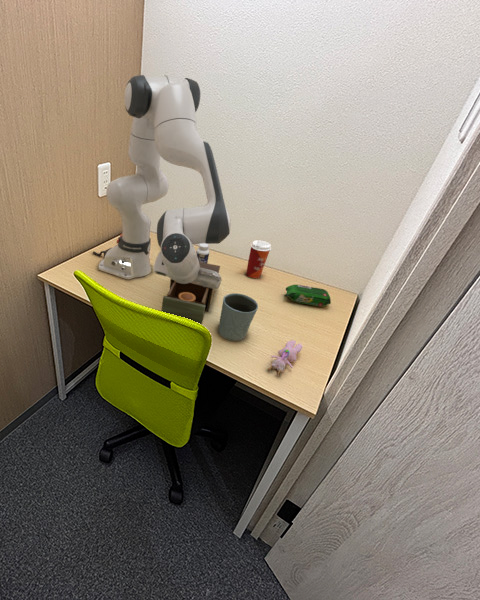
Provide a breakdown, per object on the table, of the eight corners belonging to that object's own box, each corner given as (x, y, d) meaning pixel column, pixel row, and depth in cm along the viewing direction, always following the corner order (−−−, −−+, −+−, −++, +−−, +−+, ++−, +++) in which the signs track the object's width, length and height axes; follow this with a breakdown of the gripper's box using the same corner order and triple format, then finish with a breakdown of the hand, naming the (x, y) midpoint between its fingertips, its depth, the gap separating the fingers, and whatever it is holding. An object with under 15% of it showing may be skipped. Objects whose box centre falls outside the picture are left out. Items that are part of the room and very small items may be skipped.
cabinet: (208, 312, 118) (213, 286, 112) (167, 302, 123) (170, 277, 116) (215, 289, 130) (220, 265, 124) (178, 282, 134) (181, 258, 128)
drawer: (198, 336, 105) (202, 314, 100) (157, 326, 110) (159, 304, 105) (208, 305, 120) (212, 284, 115) (171, 297, 124) (174, 276, 119)
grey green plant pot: (214, 321, 113) (220, 292, 106) (245, 323, 112) (253, 294, 106) (219, 341, 105) (226, 310, 98) (252, 344, 104) (262, 313, 97)
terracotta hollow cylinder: (174, 314, 113) (176, 297, 109) (178, 305, 118) (181, 288, 114) (191, 318, 112) (194, 301, 108) (194, 309, 116) (197, 292, 112)
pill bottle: (196, 268, 143) (199, 248, 137) (192, 262, 147) (195, 242, 142) (208, 268, 144) (212, 247, 138) (204, 262, 148) (207, 241, 142)
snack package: (281, 292, 128) (285, 280, 125) (327, 299, 124) (332, 288, 121) (282, 302, 123) (286, 290, 120) (330, 310, 119) (336, 298, 116)
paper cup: (256, 281, 135) (266, 249, 127) (239, 274, 140) (247, 243, 132) (266, 275, 139) (276, 244, 131) (249, 268, 144) (257, 237, 136)
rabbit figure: (282, 382, 93) (307, 351, 100) (287, 369, 89) (312, 337, 96) (261, 370, 97) (286, 341, 104) (265, 357, 93) (290, 327, 100)
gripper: (223, 265, 92) (224, 279, 105) (154, 249, 100) (163, 264, 113) (216, 287, 91) (218, 298, 104) (147, 269, 99) (157, 282, 112)
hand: (189, 280), depth 108 cm, fingers open, 8 cm apart
